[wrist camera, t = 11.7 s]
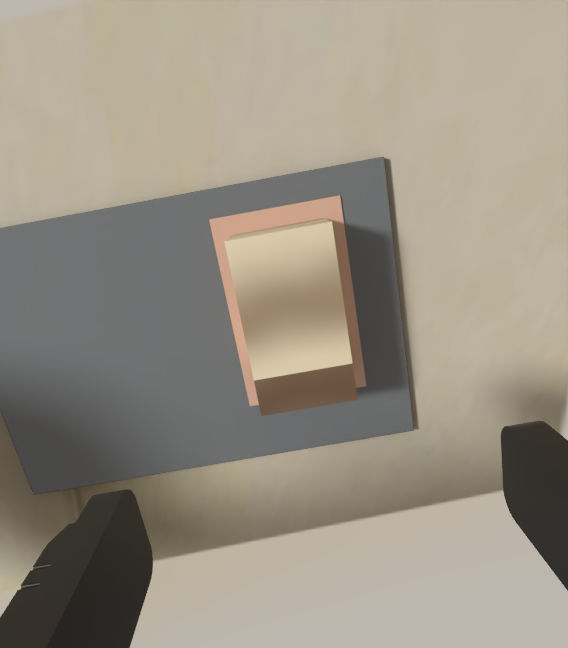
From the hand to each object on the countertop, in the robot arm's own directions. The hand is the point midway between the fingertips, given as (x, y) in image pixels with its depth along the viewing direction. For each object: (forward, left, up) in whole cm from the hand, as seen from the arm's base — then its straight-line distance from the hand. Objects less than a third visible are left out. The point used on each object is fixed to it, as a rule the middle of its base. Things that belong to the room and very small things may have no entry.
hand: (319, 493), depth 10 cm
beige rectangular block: (0, 0, -16) cm, 16 cm away
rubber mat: (-6, -1, -17) cm, 18 cm away
